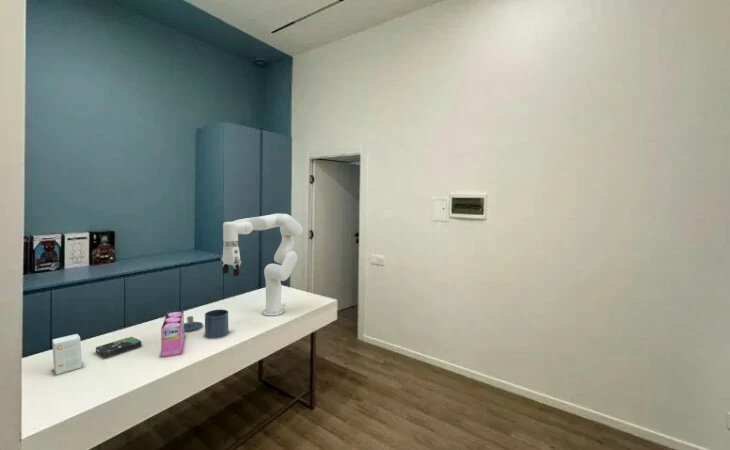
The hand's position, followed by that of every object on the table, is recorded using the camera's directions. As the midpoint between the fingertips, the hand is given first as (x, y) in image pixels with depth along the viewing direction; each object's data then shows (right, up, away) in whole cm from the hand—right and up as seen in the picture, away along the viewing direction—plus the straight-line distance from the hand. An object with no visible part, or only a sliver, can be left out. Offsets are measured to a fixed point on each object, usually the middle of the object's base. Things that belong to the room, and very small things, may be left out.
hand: (231, 274), depth 178 cm
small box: (-50, -33, -44) cm, 74 cm away
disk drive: (-42, -32, -27) cm, 59 cm away
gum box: (-19, -32, -22) cm, 43 cm away
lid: (-23, -29, 0) cm, 37 cm away
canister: (-5, -31, -7) cm, 32 cm away
